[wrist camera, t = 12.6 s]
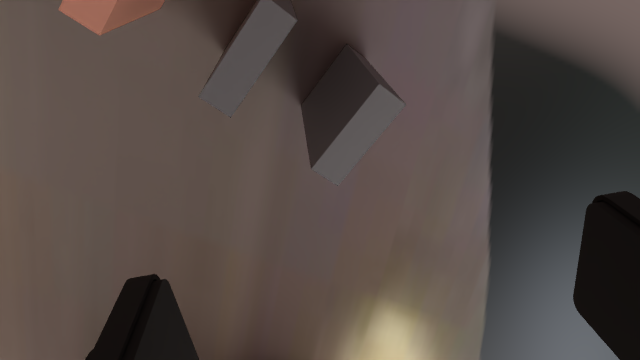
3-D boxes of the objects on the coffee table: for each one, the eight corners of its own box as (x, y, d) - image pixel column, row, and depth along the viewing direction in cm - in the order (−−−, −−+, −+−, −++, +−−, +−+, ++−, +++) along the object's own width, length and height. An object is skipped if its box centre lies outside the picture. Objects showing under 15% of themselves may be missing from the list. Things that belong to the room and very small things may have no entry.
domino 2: (290, -1, 26) (297, 20, 17) (245, 66, 28) (230, 117, 19) (268, -18, 26) (263, -6, 17) (223, 52, 27) (198, 96, 18)
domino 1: (365, 58, 28) (406, 104, 19) (319, 118, 30) (337, 186, 21) (346, 43, 28) (379, 83, 19) (301, 105, 29) (311, 169, 20)
